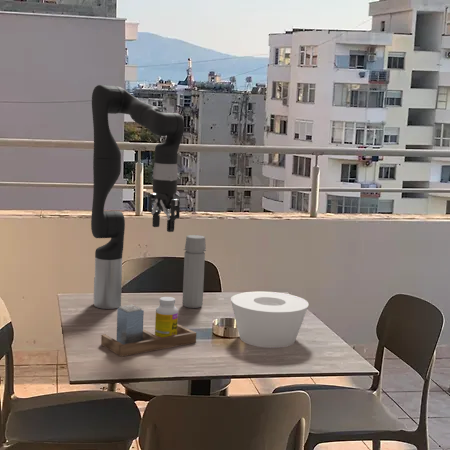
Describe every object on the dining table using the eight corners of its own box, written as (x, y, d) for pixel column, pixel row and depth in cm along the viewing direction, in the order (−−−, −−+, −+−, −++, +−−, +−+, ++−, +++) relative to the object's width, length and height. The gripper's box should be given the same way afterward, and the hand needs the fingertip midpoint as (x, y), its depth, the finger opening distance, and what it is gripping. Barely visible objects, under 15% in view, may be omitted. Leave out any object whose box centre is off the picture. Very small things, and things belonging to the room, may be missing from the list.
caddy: (101, 344, 212) (101, 334, 211) (174, 331, 227) (174, 322, 227) (121, 356, 203) (121, 346, 202) (196, 342, 218) (196, 332, 218)
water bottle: (203, 309, 254) (206, 239, 250) (180, 308, 254) (183, 238, 250) (204, 302, 263) (207, 234, 259) (182, 301, 263) (185, 233, 259)
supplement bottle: (173, 344, 215) (175, 302, 213) (151, 342, 216) (153, 300, 214) (179, 337, 222) (181, 297, 220) (158, 335, 223) (159, 294, 221)
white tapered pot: (217, 343, 218) (219, 305, 216) (243, 323, 240) (245, 287, 239) (295, 356, 210) (297, 316, 208) (313, 334, 233) (316, 297, 231)
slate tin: (116, 344, 213) (117, 306, 211) (132, 341, 216) (133, 303, 214) (126, 350, 208) (127, 311, 206) (142, 346, 212) (143, 308, 210)
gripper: (142, 175, 228) (141, 226, 231) (167, 180, 217) (165, 234, 219) (163, 174, 232) (161, 224, 235) (188, 180, 221) (185, 232, 224)
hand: (163, 229), depth 227 cm, fingers open, 8 cm apart
